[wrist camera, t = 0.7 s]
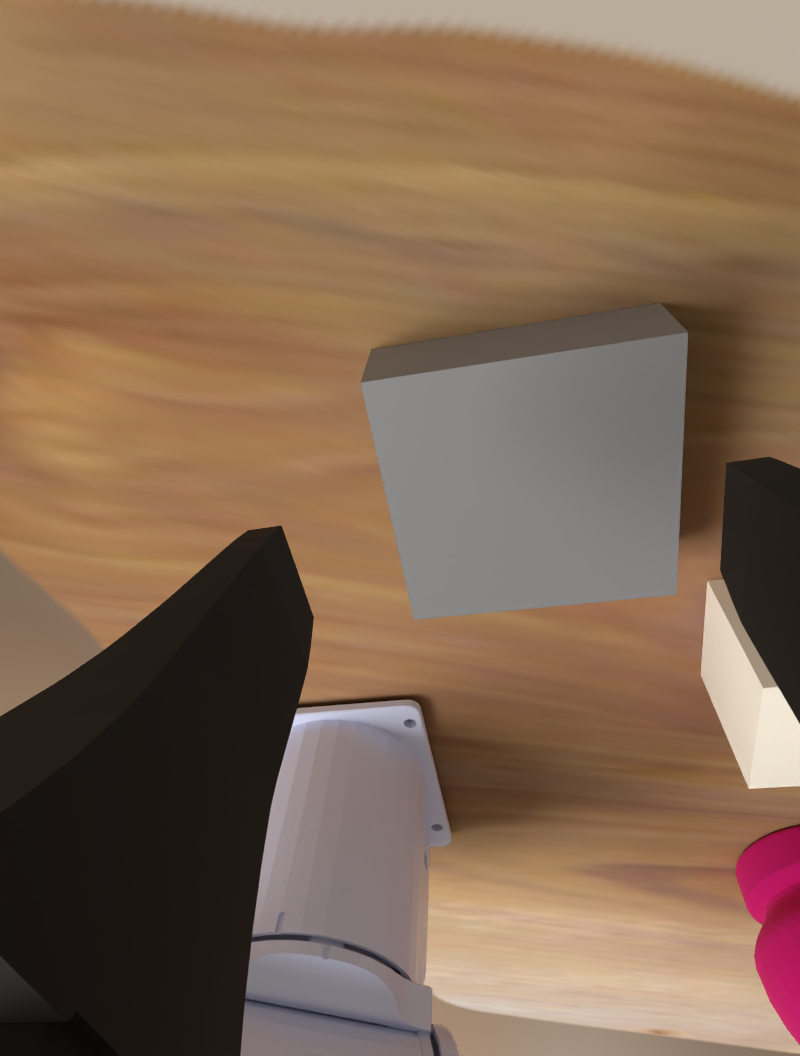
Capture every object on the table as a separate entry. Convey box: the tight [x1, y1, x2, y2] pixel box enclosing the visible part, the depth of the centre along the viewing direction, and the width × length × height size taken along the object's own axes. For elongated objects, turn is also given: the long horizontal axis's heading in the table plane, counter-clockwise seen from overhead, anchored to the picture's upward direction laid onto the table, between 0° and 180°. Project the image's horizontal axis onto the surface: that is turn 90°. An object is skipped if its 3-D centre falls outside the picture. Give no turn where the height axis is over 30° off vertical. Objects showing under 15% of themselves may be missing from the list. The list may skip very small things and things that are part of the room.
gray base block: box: [361, 303, 688, 620], centre depth 20 cm, size 8×8×3 cm
